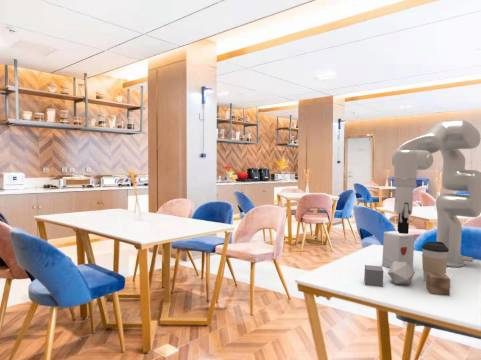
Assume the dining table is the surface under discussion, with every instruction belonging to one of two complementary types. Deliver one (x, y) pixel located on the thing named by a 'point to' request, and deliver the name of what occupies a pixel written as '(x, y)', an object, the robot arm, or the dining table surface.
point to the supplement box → (397, 248)
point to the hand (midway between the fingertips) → (402, 232)
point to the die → (401, 273)
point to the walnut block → (438, 284)
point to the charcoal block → (373, 276)
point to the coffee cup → (434, 258)
